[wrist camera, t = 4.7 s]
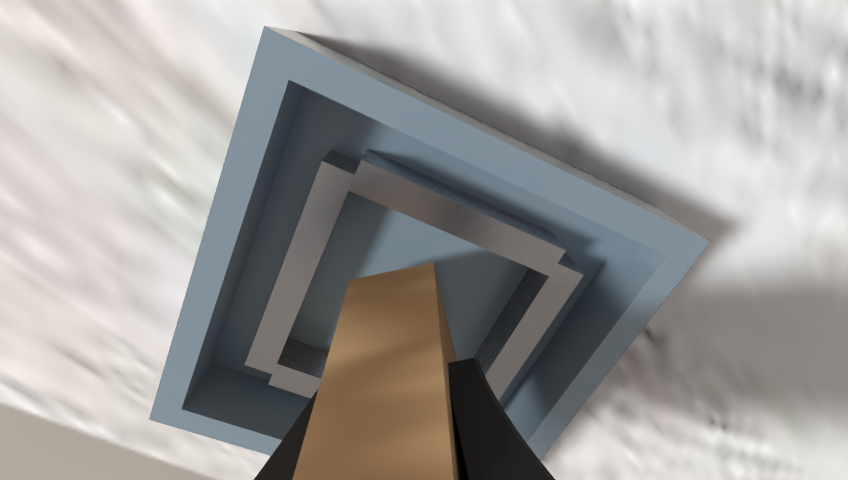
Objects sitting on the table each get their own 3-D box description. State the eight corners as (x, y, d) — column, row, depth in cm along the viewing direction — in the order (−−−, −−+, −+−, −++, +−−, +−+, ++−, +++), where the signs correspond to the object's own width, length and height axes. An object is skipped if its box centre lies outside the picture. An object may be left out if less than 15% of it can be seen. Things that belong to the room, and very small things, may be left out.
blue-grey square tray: (655, 206, 14) (710, 241, 11) (480, 454, 18) (491, 521, 16) (296, 31, 12) (264, 25, 9) (191, 360, 16) (148, 419, 13)
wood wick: (433, 262, 12) (454, 497, 6) (460, 374, 14) (502, 660, 7) (349, 279, 12) (278, 527, 6) (385, 389, 14) (361, 681, 7)
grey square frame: (575, 242, 14) (592, 262, 13) (461, 418, 17) (465, 448, 15) (336, 134, 12) (328, 144, 11) (255, 347, 15) (240, 375, 14)
